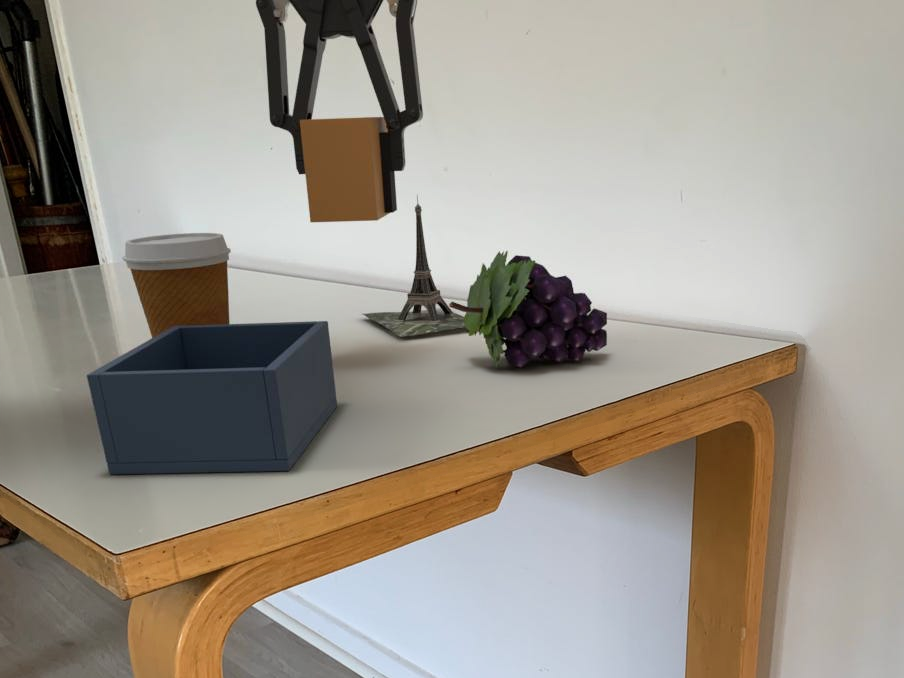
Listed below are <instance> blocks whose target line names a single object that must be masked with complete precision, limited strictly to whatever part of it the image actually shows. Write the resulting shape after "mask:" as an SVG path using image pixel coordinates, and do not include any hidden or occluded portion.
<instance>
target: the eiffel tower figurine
mask: <svg viewBox="0 0 904 678" xmlns="http://www.w3.org/2000/svg"><path fill="white" fill-rule="evenodd" d="M416 201H417V202H416V206H414V212H415V226H416V227H415V232H416V233H415V234H416V237H415V238H416V239H415V240H416V245H415V248H416V249H415V268H414V271H413V273H414V276H413V281H412V285H411V289H410V292H407V299H406V302H405V304H404V305H403V307H402V309H401V311H385V312H384V311H382V312H381V311H380V312H368V313H362V315H363V316H365V317H366V318H368V319H370V320H371V321H373V322H375V323H377V324H379V325H381V326H383V327H384V328H386V329H388V330H389V331H390V332H392V333H393V334H395V335H396V336H397V337H399V338H403V337H409V336H417V335H424V334H429V333H430V334H431V333H436V332H437V333H438V332H442V331H448V330H455V329H460V328H466V327H465V326H464V315H461V314H458V313H455V312H453V310H452V309H451V307H450V306H449V304H447V302H446V301H445V300H444V298H443V297H442V296H441V290H440V289H437V287H436V284H435V282H434V279H433V276H432V274H431V272H432V269H430V266H429V262H428V256H427V250H426V244H425V243H426V242H425V236H424V228H423V221H422V220H423V219H422V211H423V210H422V206H421V205H420V204H419V197H418V194H416ZM437 306H438V307H439V308H440V309H437ZM422 307H423V308H425V310H422ZM411 309H412V311H411Z"/></svg>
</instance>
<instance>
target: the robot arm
mask: <svg viewBox="0 0 904 678" xmlns="http://www.w3.org/2000/svg"><path fill="white" fill-rule="evenodd" d="M386 1H387V3H388V10H389V14H390V16H392V17H394V18H395V33H396V41H397V49H398V58H399V66H400V74H401V83H402V92H403V100H404V110H402V111H401V110H400V107H399V104H398V101H397V98H396V96H395V92H394V90H393V87H392V84H391V81H390V78H389V75H388V72H387V69H386V67H385V63H384V60H383V58H382V57H383V56H382V54H381V52H380V49H379V46H378V41H377V37H376V35H375V32H374V29H373V25H372V23H373V21H374V20H375V17H376V15H377V13H378V12H379V10H380V8H381V6H382V5H383V2H384V0H255V7H256V10H257V12H258V15H259V17H260V20H261V23H262V25H263V29H264V43H265V44H264V47H265V61H266V63H265V64H266V80H267V93H268V112H269V122H270V124H271V126H273V127H275V128H278V129H282V130H284V131H287V132H288V133H289V134H291V137H292V139H293V148H294V149H293V150H294V160H295V167H296V171H297V173H298V175H305V166H304V156H303V147H302V137H301V128H300V120H309V119H313V114H314V109H315V108H314V107H315V101H316V97H317V92H318V91H317V90H318V85H319V78H320V73H321V66H322V62H323V57H324V56H323V55H324V52H325V50H326V46H327V41H328V40H334V39H337V38H340V37H345V38H349V39H355V42H356V45H357V46H358V48H359V50H360V53H361V56H362V60H363V62H364V64H365V67H366V70H367V74H368V76H369V79H370V82H371V85H372V88H373V90H374V94H375V96H376V99H377V102H378V105H379V107H380V111H381V114H382V117H384V119H385V122H386V125H387V126H386V128H387V129H388V132H382V133H379V139H380V153H381V166H382V180H383V194H384V208H385V213H389V214H391V213H395V212H396V211H398V204H397V189H396V175H395V172H402V171H404V170H405V167H406V150H405V130H406V129H407V128H409V127H410V126H412V125H414V124H416V123H418V122H421V121H422V120H423V117H424V110H423V101H422V100H423V99H422V93H421V83H420V82H421V81H420V73H419V66H418V55H417V48H416V37H415V28H414V21H415V16H416V11H417V6H418V0H386ZM290 6H292V8H294V10H295V11H296V13H297V15H298V16H299V17H300V18H301V20H302V21H303V22H304V24H305V28H304V35H303V40H302V46H303V49H302V54H301V60H300V66H299V67H300V68H299V72H298V78H297V85H296V91H295V96H294V103H293V108H292V114H290V99H289V80H288V78H289V77H288V60H287V59H288V58H287V41H286V40H287V39H286V30H285V25H284V23H286V22H287V20H288V17H289V14H288V13H289V12H288V11H289V10H288V9H289V7H290Z"/></svg>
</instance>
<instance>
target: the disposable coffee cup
mask: <svg viewBox="0 0 904 678" xmlns="http://www.w3.org/2000/svg"><path fill="white" fill-rule="evenodd" d="M230 253H232V251H231V248H230V247H228V245H227V242H226V240H225V237H224V235H223V234H221V233H218V232H217V233H216V232H187V233H186V232H185V233H184V232H183V233H171V234H160V235H159V234H158V235H151V236H144V237H143V236H142V237H137V238H131V239H128V240H127V241H125V244H124V256H122V260H123V261H124V262H125V263H126V267H127V268H128V269H130V273H131V275H132V279H133V282H134V285H135V288H136V291H137V294H138V297H139V301H140V304H141V307H142V310H143V313H144V316H145V319H146V323H147V325H148V329H149V332H150V335H151V339H152V338H153V337H155V336H157V335H159V334H160V333H162V332H164V331H166V330H168V329H169V328H171V327H173V326H190V325H220V324H231V323H230V301H229V300H230V299H229V298H230V297H229V277H228V275H229V273H228V261H229V260H230V257H229V256H230Z"/></svg>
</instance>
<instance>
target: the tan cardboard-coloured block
mask: <svg viewBox="0 0 904 678" xmlns="http://www.w3.org/2000/svg"><path fill="white" fill-rule="evenodd" d="M386 126H387V125H386V122H385V119H384V116H370V117H369V116H364V117H341V118H340V117H337V118H312V119H309V120H300V128H301V137H302V147H303V156H304V166H305V174H304V176H305V184H306V194H307V203H308V204H307V205H308V211H309V222H310V223H335V222H336V223H338V222H340V223H341V222H342V223H343V222H371V221H373V222H374V221H379V220H381V219H382V218H384V217H386V216H388V215H389V214H390V213H385V208H384V194H383V180H382V166H381V153H380V139H379V133H382V132H388V129H387V128H386Z"/></svg>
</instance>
